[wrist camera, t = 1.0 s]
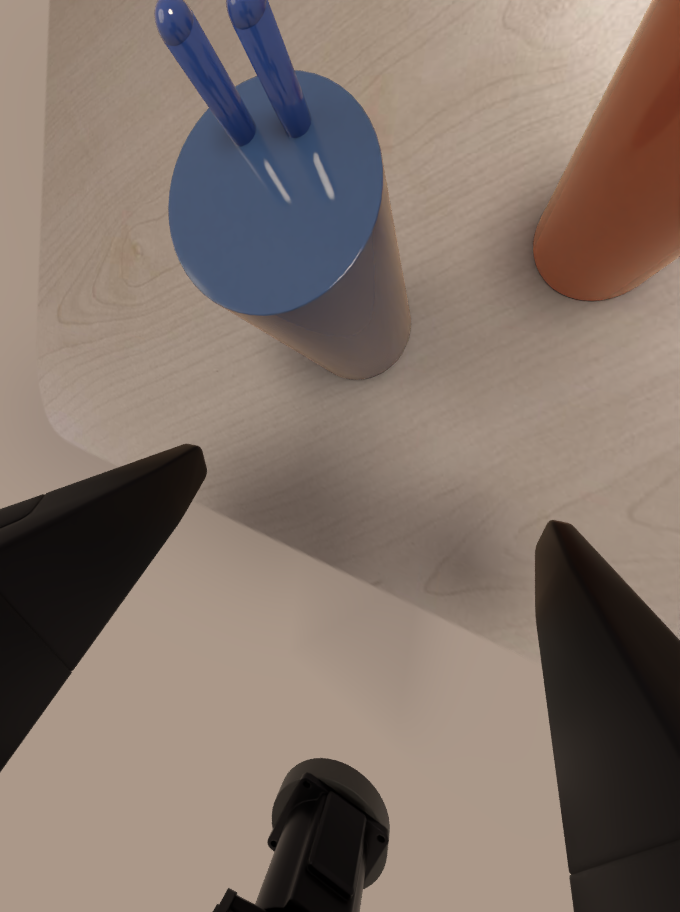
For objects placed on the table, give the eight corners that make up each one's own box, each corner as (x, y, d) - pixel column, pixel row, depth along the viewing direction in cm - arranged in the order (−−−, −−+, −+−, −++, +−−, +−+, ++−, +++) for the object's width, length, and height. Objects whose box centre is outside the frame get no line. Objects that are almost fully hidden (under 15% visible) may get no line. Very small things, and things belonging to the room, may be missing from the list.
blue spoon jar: (407, 380, 22) (350, 256, 6) (307, 379, 24) (66, 275, 8) (414, 271, 22) (370, -148, 6) (311, 276, 23) (64, -45, 8)
